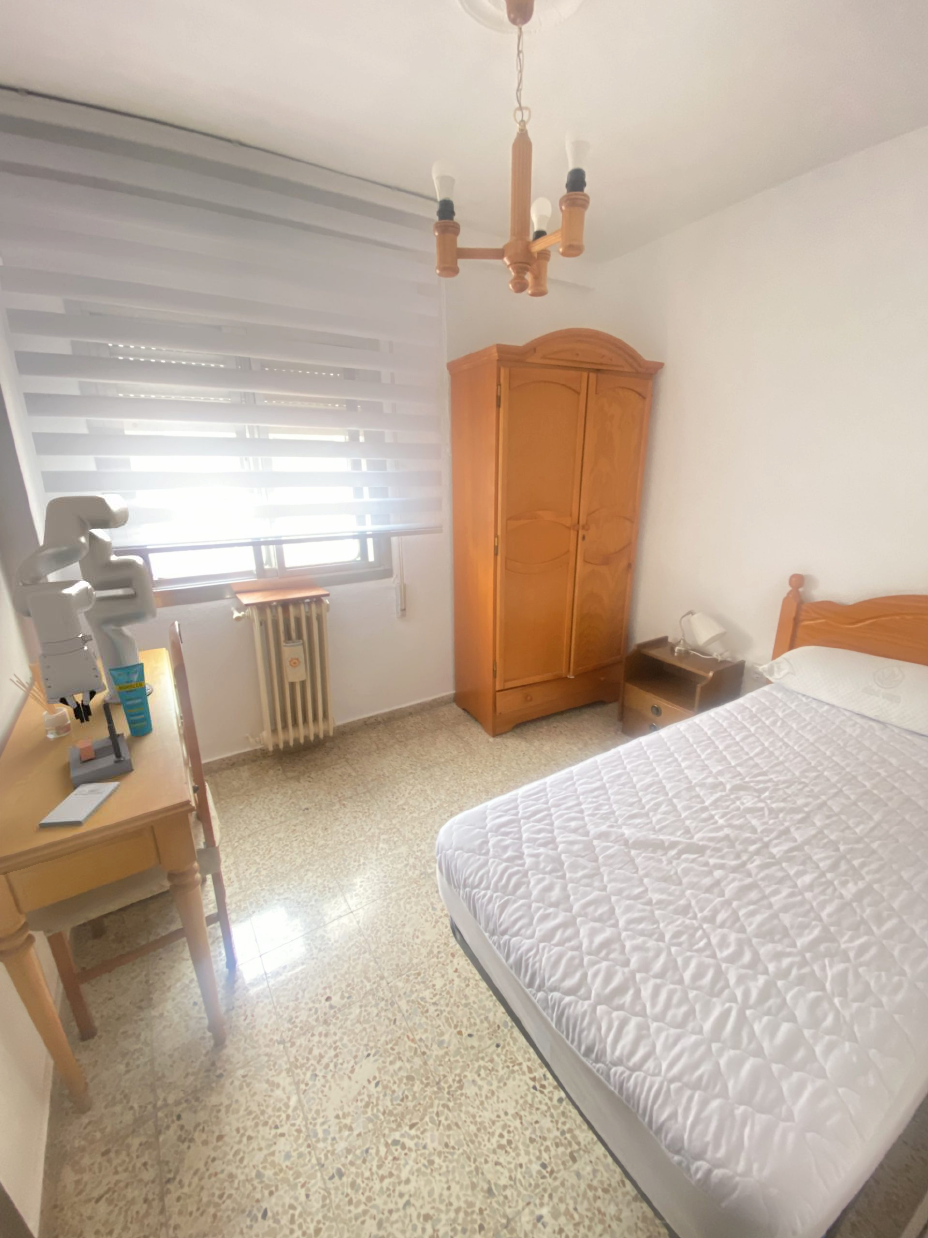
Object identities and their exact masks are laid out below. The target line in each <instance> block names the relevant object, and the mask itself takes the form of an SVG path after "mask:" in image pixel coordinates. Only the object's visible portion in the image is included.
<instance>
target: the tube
mask: <svg viewBox="0 0 928 1238" xmlns="http://www.w3.org/2000/svg"><path fill="white" fill-rule="evenodd" d="M144 665H145V664H144V662H141V663H138V664H134V665H129V666H124V667H118V668H111V669H108V670H109V672H110V674H111V676H112V679H113V681H114V684H115V686H116V689H117V692H118V695H119V698H120V701H121V703H120V704H121V707H122V709H123V712H124V716H125V719H126V723H127V726H128V730H129V733H130V736H131V737H142V736H145V735H149V734H150V733H151V732H152V731H153V724H152V717H151V712H150V706H149V699H148V695H147V692H146V685H145V683H146V678H145V666H144Z"/></svg>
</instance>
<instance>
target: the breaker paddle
mask: <svg viewBox="0 0 928 1238" xmlns="http://www.w3.org/2000/svg"><path fill="white" fill-rule="evenodd" d="M92 742H93V741H92V738H91V737H90V738H86V739H83V740H79V741H77V746H78V747H79V752H80V755H81V759H82V761H84V760H88V759H91V758H94V757H95V753H94V748H93V745H92Z"/></svg>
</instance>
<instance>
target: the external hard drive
mask: <svg viewBox="0 0 928 1238" xmlns="http://www.w3.org/2000/svg"><path fill="white" fill-rule="evenodd" d="M120 786H121V784H120V782H119V781H112V782H110V781H109V782H95V783H90V784H81V785H80V786H79V787H78V788H76V789H74V790H73V791H72V792H71V793H70V794H69V795H68V796H67V797H66V798H65V799H63V801H61V802H60V803H59V804H58V805H57V806H56V807H55V808H54V809H52V810H51V811H50V812H49V813H48V814H47V815H46V816H45V817H44V818H42V820H41V821H40V822H38V828H51V827H67V826H68V827H69V826H83V825H84V824H85V823H86V822H87V821H88V820H89V819H90V818H91V817H92V816H93V815H94V814H95V812H97V811H98V809H100V808H101V806H102V805H103V804H104V803H105V802H106V801H107V800H108V799H109V798H110V797H111V796H112V795H113V794H114V792H116V791H117V789H118V788H120Z"/></svg>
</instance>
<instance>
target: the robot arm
mask: <svg viewBox="0 0 928 1238" xmlns="http://www.w3.org/2000/svg"><path fill="white" fill-rule="evenodd" d="M128 520H129V508H128V505H127V503H126V501H125V500H124V499H123V497H121V496H120V495H118V494H99V495H95V494H94V495H71V496H70V495H68V496H60V497H56V498H53V499H50V500H49V501H48V503H47V506H46V509H45V520H44V530H43V532H44V533H43V542H42V545H40V546H39V547H37V548H36V549H35V550H33V551H32V552H30V554H28V555H27V556H26V557H25V558H24V559H23V560H22V561H21V562H20V563H19V565H18V566H17V567H16V569H15V571H14V575H13V581H12V589H11V601H12V606H13V608H14V610H15V612H16V613H18V615H20V616H21V617H23V618H30V619H31V620H32V624H33V627H34V630H35V633H36V637H37V640H38V643H39V647H40V650H41V653H39V654H38V666H39V671H40V676H41V681H42V685H43V689H44V693H45V694H46V704H48V705H54V704H55V705H56V704H57V705H58V704H62V705H65V706H67V707H70V709H72V711H73V715H74V718H75V720H79V722H80V724H84V723H85V722H87V723H89V722H90V717H92V716H93V714H92V711H91V706H90V702H91V701H92V700H93V698H95V697H96V696H97V695H99V694H101V693H103V692H105V691H107V690H108V691H107V692H106V693H105V694H104V696H103V700H104V703H108V704H113V705H116V704H119V705H120V704H121V701H120V698H119V695H118V692H117V689H116V686H115V684H114V681H113V679H112V676H111V674H110V672H109V670H108V669H111V668H118V667H124V666H129V665H134V664H138V663H142V662H141V659H140V655H139V654H140V653H139V649H138V646H137V640H136V638H135V637H134V635H133V634H132V633H131V632H130V631H129V630H128V629H127V628H125V627H128V626H136V625H143V624H144V625H145V624H149V623H152V622H154V621H156V618H157V615H158V614H157V606H156V600H155V595H154V591H153V587H152V581H151V576H150V573H149V572H150V571H149V568H148V565H147V563H146V562H145V560H144V559H143V558H142V557H140V556H138V555H121V556H116V555H115V553H114V549H113V544H112V543H113V542H112V540H111V538H110V537H109V536H108V534H106V533H105V531H103V530H107V529H118V528H121V527H124V526H126V524H127V523H128ZM76 563H78V567H79V570H80V572H81V573H80V574H81V577H82V580H80V579H71V580H60V581H59V580H58V581H47V582H41V581H42V580H43V579H44V578H46V577H47V576H49V575H51V574H53V573H54V572H57V571H59V570H62V569H64V568H67V567H69V566H71V565H74V564H76ZM128 589H130V590H132V591H133V592H128V593H126V592H125V593H117V594H115V593H114V594H108V595H107V594H106V595H100V596H97V595H96V592H106V591H117V590H118V591H119V590H128ZM80 614H83V615H84V617H85V620H86V622H87V623H88V626H89V628H90V630H91V633H92V634H88V635H87V634H86V635H85V633H83V629H82V626H81V622H80V618H79V616H78V615H80ZM93 638H94V640H93ZM91 641H95V645H96V648H97V651H98V657H99V660H100V664H101V667H102V671H101V669H100V665H99V663H98V659H97V657H96V654H95V652H94V649H93V648H92V646H91V645H90V644H89V642H91ZM102 672H103V675H104V679H105V682H106V684H105V682H104V681H103V675H102ZM145 685H146V692H147V696H148V695H150V694H151V693H152V692H153V690H154V688H153V685H152V684H151V683H147V682H145ZM80 694H81V697H82V699H81V700H80V702H79V701H77V700H76V698H75V695H80Z"/></svg>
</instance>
